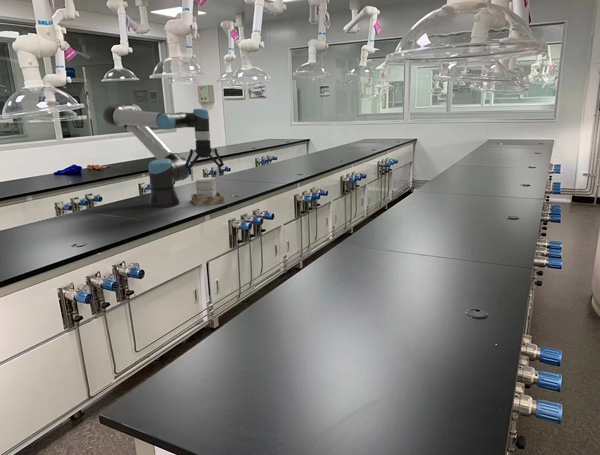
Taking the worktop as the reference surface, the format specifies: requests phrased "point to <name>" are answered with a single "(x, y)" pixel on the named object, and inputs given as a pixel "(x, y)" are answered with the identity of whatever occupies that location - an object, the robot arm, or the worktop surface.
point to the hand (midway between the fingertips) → (205, 179)
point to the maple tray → (208, 199)
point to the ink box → (206, 187)
